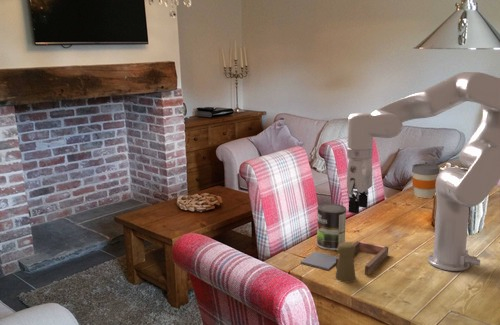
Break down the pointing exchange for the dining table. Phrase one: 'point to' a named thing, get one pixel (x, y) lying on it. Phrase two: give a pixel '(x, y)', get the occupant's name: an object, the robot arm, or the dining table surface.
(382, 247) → the brown u-shaped frame
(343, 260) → the tan hourglass shape
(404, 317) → the dining table surface
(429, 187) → the reusable coffee cup
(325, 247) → the coffee can
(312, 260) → the coaster
